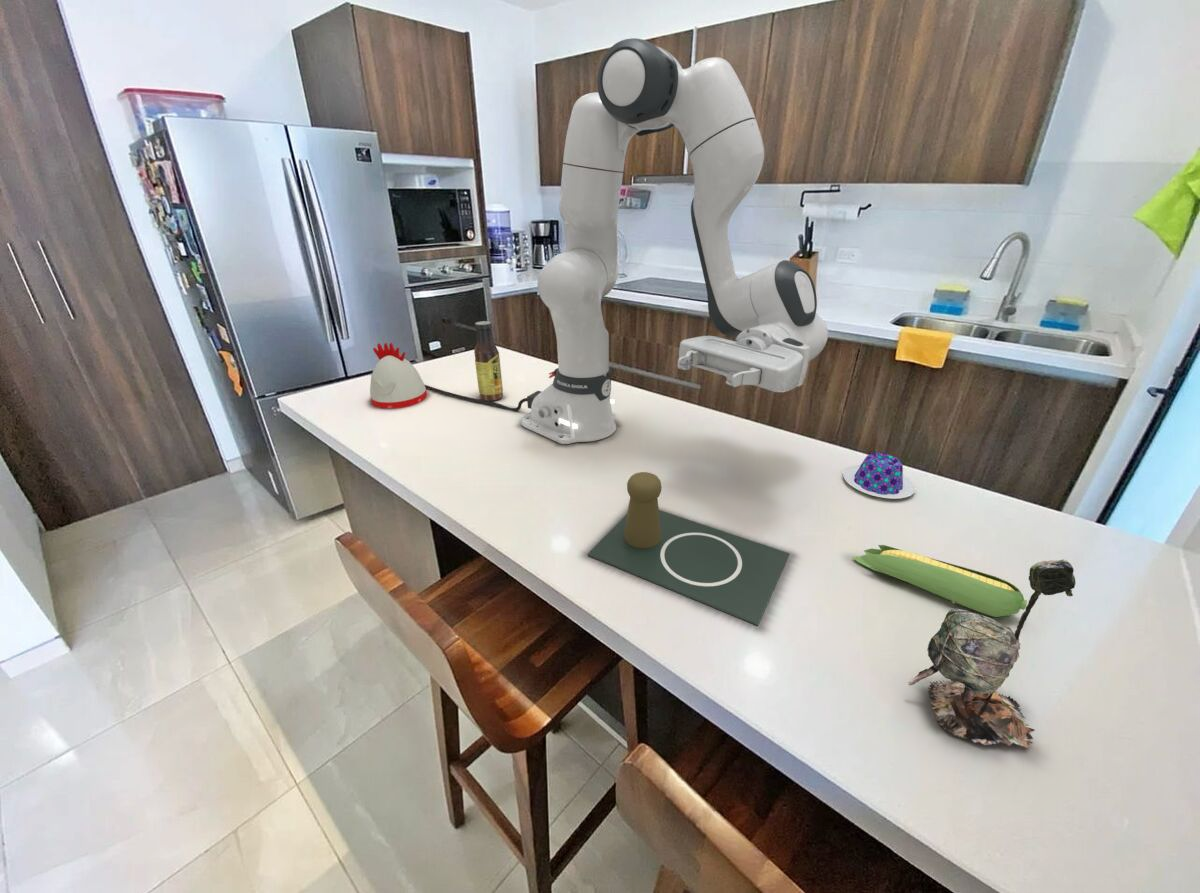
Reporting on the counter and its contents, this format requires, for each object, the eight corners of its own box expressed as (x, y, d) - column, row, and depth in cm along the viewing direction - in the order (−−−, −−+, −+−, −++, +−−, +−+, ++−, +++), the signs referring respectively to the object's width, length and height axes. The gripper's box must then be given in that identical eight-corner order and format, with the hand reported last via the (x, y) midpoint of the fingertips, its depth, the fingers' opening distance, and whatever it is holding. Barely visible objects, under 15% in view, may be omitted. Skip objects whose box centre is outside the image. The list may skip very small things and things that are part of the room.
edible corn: (1017, 633, 62) (1031, 606, 60) (846, 568, 73) (853, 544, 70) (1017, 607, 66) (1031, 581, 63) (854, 550, 76) (861, 526, 74)
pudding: (881, 508, 86) (889, 482, 83) (827, 475, 95) (833, 451, 93) (929, 492, 90) (938, 467, 87) (873, 462, 100) (879, 439, 97)
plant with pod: (906, 659, 59) (961, 522, 49) (1026, 707, 53) (1114, 562, 44) (900, 714, 53) (962, 569, 43) (1035, 774, 47) (1139, 623, 38)
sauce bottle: (501, 402, 130) (492, 326, 120) (477, 402, 130) (467, 326, 120) (505, 392, 135) (497, 319, 126) (482, 392, 136) (473, 319, 126)
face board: (587, 555, 76) (587, 553, 75) (637, 504, 88) (637, 502, 87) (757, 625, 63) (758, 623, 63) (788, 555, 75) (789, 552, 75)
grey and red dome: (388, 387, 140) (377, 335, 133) (435, 389, 138) (425, 336, 131) (361, 407, 128) (346, 350, 121) (411, 409, 126) (399, 352, 119)
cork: (659, 550, 76) (663, 489, 71) (620, 545, 77) (621, 485, 72) (663, 526, 81) (666, 468, 76) (626, 522, 82) (627, 465, 77)
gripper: (711, 323, 88) (655, 337, 80) (820, 348, 74) (765, 368, 66) (708, 357, 91) (654, 374, 83) (812, 388, 77) (759, 412, 69)
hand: (704, 372), depth 74 cm, fingers open, 8 cm apart
